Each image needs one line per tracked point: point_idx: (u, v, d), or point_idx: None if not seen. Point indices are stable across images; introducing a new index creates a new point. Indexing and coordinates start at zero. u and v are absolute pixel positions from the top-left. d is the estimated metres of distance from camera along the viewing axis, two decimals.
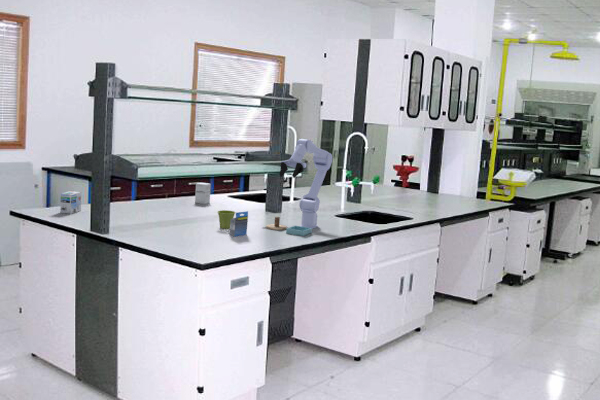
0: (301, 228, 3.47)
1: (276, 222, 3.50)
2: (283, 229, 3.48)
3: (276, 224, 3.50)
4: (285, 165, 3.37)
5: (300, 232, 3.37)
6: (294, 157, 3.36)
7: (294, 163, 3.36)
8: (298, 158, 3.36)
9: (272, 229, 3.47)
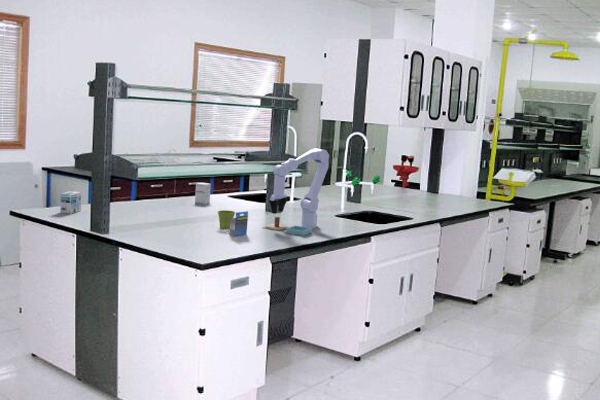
0: (301, 228, 3.47)
1: (276, 222, 3.50)
2: (283, 229, 3.48)
3: (276, 224, 3.50)
4: (280, 199, 3.53)
5: (300, 232, 3.37)
6: None
7: None
8: (274, 191, 3.47)
9: (272, 229, 3.47)
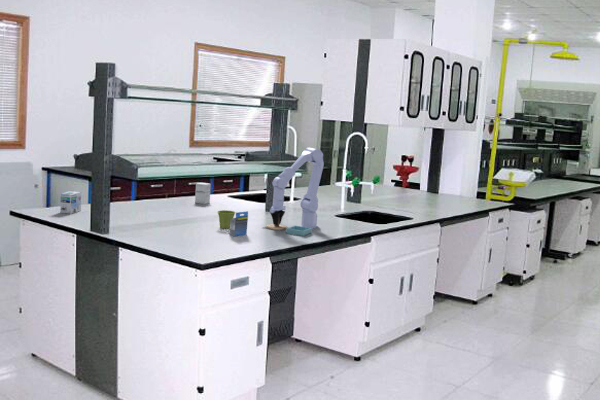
0: (301, 228, 3.47)
1: None
2: (283, 229, 3.48)
3: None
4: (277, 211, 3.52)
5: (300, 232, 3.37)
6: None
7: None
8: (273, 204, 3.48)
9: (272, 229, 3.47)
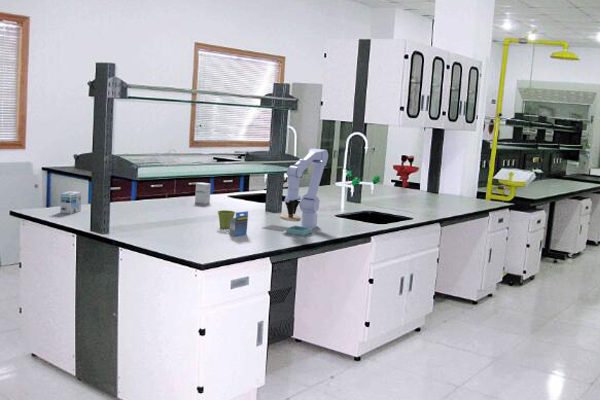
0: (301, 228, 3.47)
1: None
2: (297, 220, 3.41)
3: (290, 215, 3.44)
4: (292, 201, 3.45)
5: (300, 232, 3.37)
6: None
7: None
8: (288, 193, 3.41)
9: None
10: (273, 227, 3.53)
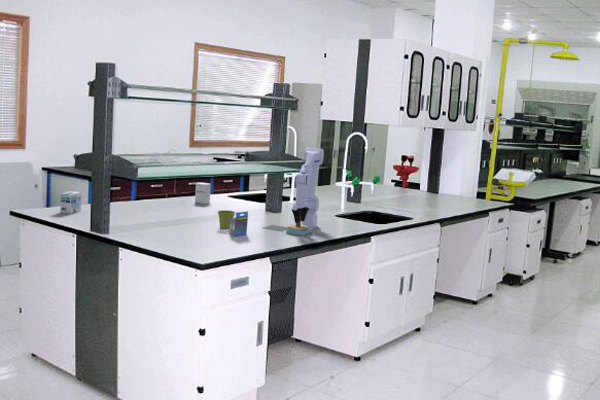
0: None
1: None
2: (305, 229, 3.39)
3: (297, 224, 3.41)
4: (302, 208, 3.44)
5: (300, 232, 3.37)
6: None
7: None
8: (296, 201, 3.39)
9: (293, 229, 3.38)
10: (273, 227, 3.53)
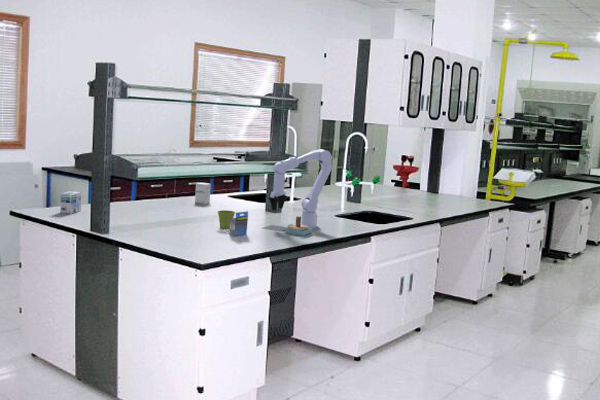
0: None
1: (297, 222, 3.41)
2: (305, 229, 3.39)
3: (297, 224, 3.41)
4: (280, 196, 3.57)
5: (300, 232, 3.37)
6: None
7: None
8: (274, 188, 3.51)
9: (293, 229, 3.38)
10: (273, 227, 3.53)
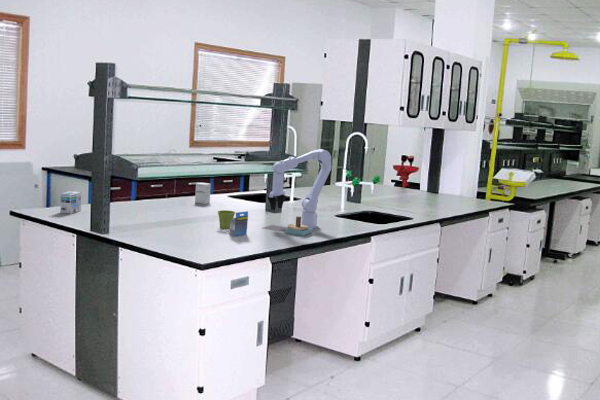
0: None
1: (297, 222, 3.41)
2: (305, 229, 3.39)
3: (297, 224, 3.41)
4: (279, 196, 3.58)
5: (300, 232, 3.37)
6: None
7: None
8: (273, 188, 3.52)
9: (293, 229, 3.38)
10: (273, 227, 3.53)
